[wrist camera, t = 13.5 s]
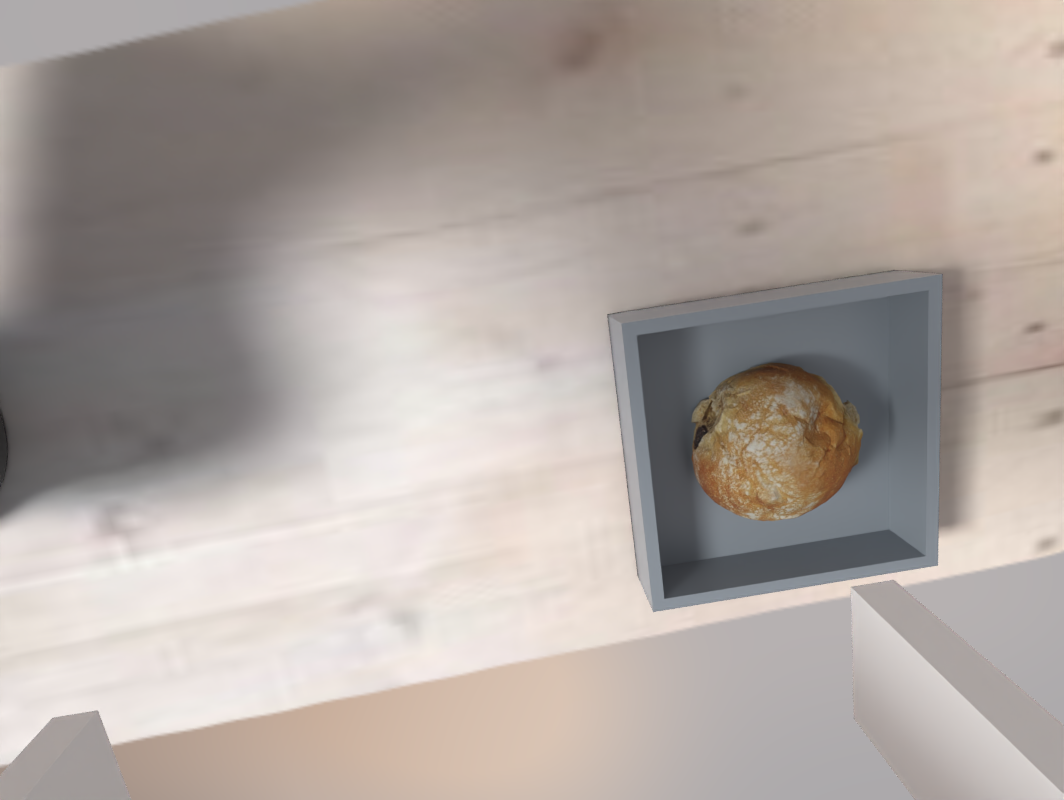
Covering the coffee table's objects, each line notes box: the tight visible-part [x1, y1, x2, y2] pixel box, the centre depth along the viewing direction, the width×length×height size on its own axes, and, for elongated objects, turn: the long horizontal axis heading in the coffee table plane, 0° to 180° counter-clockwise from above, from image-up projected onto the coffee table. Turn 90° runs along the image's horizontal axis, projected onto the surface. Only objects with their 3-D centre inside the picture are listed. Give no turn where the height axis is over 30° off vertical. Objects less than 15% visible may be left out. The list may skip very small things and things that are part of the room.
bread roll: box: [691, 362, 863, 521], centre depth 40 cm, size 10×10×8 cm
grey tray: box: [607, 270, 943, 612], centre depth 41 cm, size 19×19×4 cm
